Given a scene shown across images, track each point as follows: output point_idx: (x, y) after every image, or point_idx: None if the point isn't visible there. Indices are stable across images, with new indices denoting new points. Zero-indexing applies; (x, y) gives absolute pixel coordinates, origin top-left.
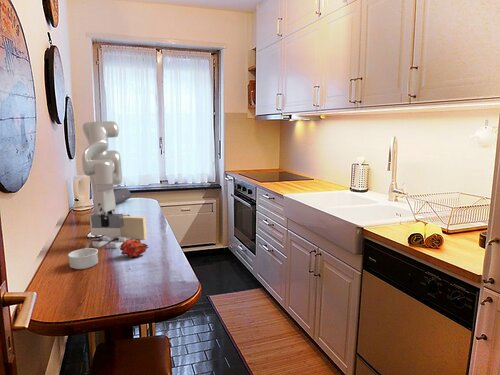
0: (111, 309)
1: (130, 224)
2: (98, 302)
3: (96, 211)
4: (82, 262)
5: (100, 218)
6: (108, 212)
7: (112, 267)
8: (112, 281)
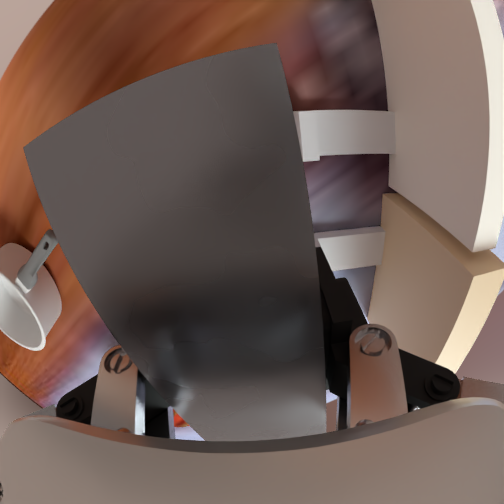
0: (32, 396)
1: (417, 317)
2: (22, 381)
3: (16, 434)
4: (9, 316)
5: (111, 356)
6: (357, 394)
7: (77, 358)
8: (52, 379)
